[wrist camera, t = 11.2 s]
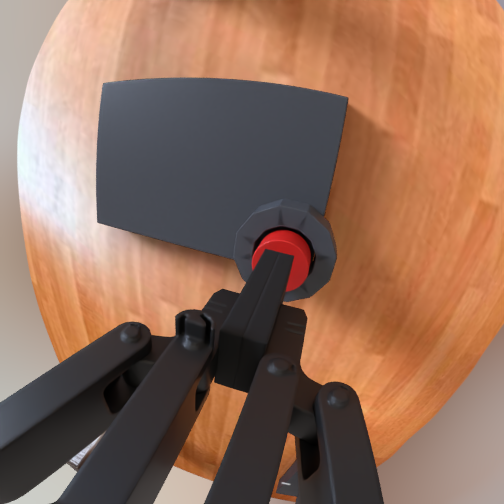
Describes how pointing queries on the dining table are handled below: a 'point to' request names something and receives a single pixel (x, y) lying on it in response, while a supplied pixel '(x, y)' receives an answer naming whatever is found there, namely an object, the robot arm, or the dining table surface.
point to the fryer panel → (289, 482)
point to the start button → (288, 245)
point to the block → (220, 166)
